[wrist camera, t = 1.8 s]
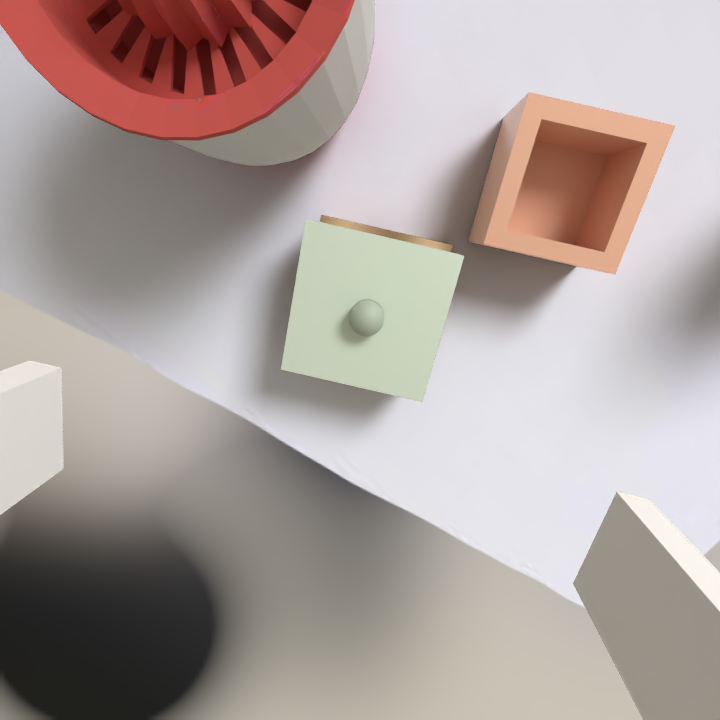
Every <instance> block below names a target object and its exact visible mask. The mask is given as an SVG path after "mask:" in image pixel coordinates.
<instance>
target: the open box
mask: <svg viewBox="0 0 720 720" xmlns="http://www.w3.org/2000/svg"><path fill="white" fill-rule="evenodd" d="M674 128H675V126H674V125H670V124H665V123H661V122H656V121H652V120H648V119H643V118H639V117H635V116H630V115H626V114H621V113H617V112H613V111H608V110H604V109H600V108H595V107H591V106H586V105H582V104H578V103H573V102H569V101H565V100H560V99H556V98H551V97H547V96H543V95H538V94H534V93H530V92H529V93H528V94H527V95H526V96H525V97H524V98H523V99H522V100H521V101H520V102H519V103H518V104H517V105H516V106H515V107H514V108H513V109H512V110H511V111H510V112H509V113H508V114H507V115H506V116H505V117H504V118H503V120H502V124H501V127H500V131H499V134H498V138H497V141H496V145H495V148H494V152H493V155H492V159H491V162H490V166H489V169H488V173H487V176H486V179H485V183H484V186H483V190H482V193H481V197H480V200H479V204H478V207H477V211H476V214H475V218H474V221H473V225H472V228H471V232H470V235H469V239H468V242H471V243H476V244H480V245H484V246H489V247H493V248H497V249H502V250H506V251H510V252H515V253H519V254H524V255H528V256H532V257H537V258H541V259H545V260H550V261H554V262H559V263H563V264H567V265H572V266H576V267H581V268H586V269H591V270H596V271H601V272H606V273H611V274H615V273H616V271H617V268H618V266H619V263H620V261H621V258H622V256H623V253H624V251H625V249H626V246H627V244H628V241H629V239H630V236H631V234H632V231H633V229H634V226H635V224H636V221H637V219H638V216H639V214H640V212H641V209H642V207H643V204H644V202H645V199H646V197H647V194H648V192H649V189H650V187H651V184H652V182H653V179H654V177H655V175H656V172H657V170H658V167H659V165H660V162H661V160H662V157H663V155H664V152H665V150H666V147H667V145H668V142H669V140H670V138H671V135H672V133H673V130H674Z"/></svg>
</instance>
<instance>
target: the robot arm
mask: <svg viewBox="0 0 720 720" xmlns="http://www.w3.org/2000/svg"><path fill="white" fill-rule="evenodd" d="M62 416H63V415H62V368H61V367H56V366H52V365H48V364H43V363H39V362H34V361H27V362H24V363H21V364H18V365H16V366H13V367H10V368H7V369H5V370H2V371H0V515H1V514H2V513H3V512H5V511H6V510H7V509H9V508H10V507H12V506H13V505H14V504H16V503H17V502H18V501H20V500H21V499H23V498H24V497H25V496H27V495H28V494H29V493H31V492H32V491H34V490H35V489H36V488H37V487H39V486H40V485H42V484H43V483H44V482H46V481H47V480H49V479H50V478H51V477H52V476H54V475H55V474H57V473H58V472H60V471H61V470H62V469H63V419H62V418H63V417H62ZM573 584H574V586H575V588H576V590H577V592H578V594H579V596H580V598H581V600H582V602H583V604H584V606H585V608H586V609H587V611H588V613H589V615H590V617H591V619H592V621H593V623H594V625H595V627H596V629H597V631H598V633H599V635H600V637H601V638H602V641H603V642H604V644H605V646H606V648H607V650H608V652H609V654H610V656H611V658H612V660H613V662H614V664H615V666H616V668H617V670H618V671H619V674H620V675H621V677H622V679H623V681H624V683H625V685H626V687H627V689H628V691H629V693H630V695H631V697H632V699H633V701H634V703H635V705H636V707H637V709H638V710H639V712H640V714H641V716H642V718H643V720H720V572H719V571H718V570H717V569H716V568H715V567H714V566H713V565H712V564H711V563H710V562H709V561H708V560H707V559H706V558H705V557H704V556H703V555H702V554H701V553H700V552H699V551H698V550H697V548H696V547H695V546H694V545H693V544H692V543H691V542H690V541H689V540H688V539H687V538H686V537H685V536H684V535H683V534H682V533H681V532H680V531H679V530H678V529H677V528H676V527H675V526H674V524H673V523H672V522H671V521H670V520H669V519H668V518H667V517H666V516H665V515H664V514H663V513H662V512H661V511H660V510H659V509H658V508H657V507H656V506H655V505H654V504H653V503H652V502H651V500H650V499H646V498H641V497H637V496H632V495H628V494H624V493H619V492H616V495H615V497H614V499H613V501H612V503H611V505H610V507H609V509H608V511H607V513H606V516H605V518H604V520H603V522H602V524H601V526H600V528H599V530H598V532H597V534H596V537H595V539H594V541H593V543H592V545H591V547H590V549H589V551H588V553H587V555H586V558H585V560H584V562H583V564H582V566H581V568H580V570H579V572H578V574H577V576H576V579H575V581H574V583H573Z"/></svg>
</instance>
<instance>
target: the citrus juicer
mask: <svg viewBox="0 0 720 720" xmlns="http://www.w3.org/2000/svg"><path fill="white" fill-rule="evenodd" d="M374 20H375V0H0V24H1V26H2V27H3V29H4V30H5V31H6V33H7V34H8V35H9V37H10V38H11V39H12V41H13V42H14V43H15V45H16V46H17V48H18V49H19V50H20V52H21V53H22V54H23V56H24V57H25V58H26V60H27V61H28V62H29V63H30V64H31V65H32V66H33V67H34V68H35V69H36V70H37V71H38V72H39V73H40V74H41V75H42V76H43V77H44V78H45V79H46V80H47V81H48V82H49V83H50V84H51V85H52V86H53V87H54V88H55V89H56V90H57V91H58V92H59V93H61V94H62V95H64V96H65V97H66V98H68V99H69V100H71V101H72V102H74V103H75V104H76V105H78V106H79V107H81V108H82V109H83V110H85V111H86V112H88V113H89V114H91V115H92V116H94V117H96V118H98V119H100V120H102V121H105V122H107V123H109V124H111V125H113V126H116V127H118V128H120V129H122V130H124V131H127V132H130V133H134V134H138V135H143V136H147V137H151V138H156V139H160V140H169V141H171V142H174V143H176V144H179V145H181V146H184V147H186V148H189V149H191V150H194V151H196V152H199V153H201V154H204V155H206V156H209V157H212V158H216V159H220V160H224V161H228V162H233V163H237V164H241V165H251V166H269V165H275V164H280V163H284V162H289V161H294V160H296V159H298V158H301V157H303V156H305V155H307V154H309V153H312V152H313V151H315V150H316V149H318V148H319V147H321V146H322V145H323V144H325V143H326V142H327V141H329V140H330V139H331V138H332V136H333V135H334V134H335V133H336V132H337V131H338V130H339V129H340V128H341V126H342V125H343V124H344V123H345V121H346V119H347V118H348V116H349V114H350V113H351V111H352V109H353V108H354V106H355V104H356V102H357V100H358V97H359V94H360V92H361V89H362V87H363V84H364V81H365V78H366V76H367V73H368V70H369V64H370V59H371V54H372V49H373V44H374Z"/></svg>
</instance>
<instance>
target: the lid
mask: <svg viewBox="0 0 720 720" xmlns="http://www.w3.org/2000/svg"><path fill="white" fill-rule="evenodd" d="M463 259H464V256H463V255H460V254H458V253H453V252H449V251H445V250H440V249H436V248H432V247H427V246H423V245H418V244H414V243H410V242H405V241H401V240H397V239H392V238H388V237H383V236H379V235H375V234H370V233H366V232H362V231H357V230H353V229H349V228H344V227H340V226H335V225H331V224H327V223H322V222H318V221H314V220H306V221H305V227H304V233H303V239H302V245H301V251H300V257H299V263H298V269H297V275H296V281H295V287H294V293H293V299H292V305H291V311H290V317H289V323H288V329H287V335H286V341H285V347H284V353H283V359H282V365H281V370H285V371H289V372H294V373H298V374H302V375H307V376H311V377H316V378H320V379H324V380H329V381H333V382H337V383H342V384H346V385H350V386H355V387H359V388H363V389H368V390H372V391H376V392H381V393H385V394H390V395H394V396H398V397H403V398H407V399H411V400H416V401H420V402H422V401H423V398H424V395H425V391H426V388H427V384H428V381H429V377H430V374H431V370H432V367H433V363H434V360H435V356H436V353H437V349H438V346H439V343H440V339H441V336H442V332H443V329H444V325H445V322H446V318H447V315H448V311H449V308H450V304H451V301H452V298H453V294H454V291H455V287H456V284H457V280H458V277H459V273H460V270H461V266H462V263H463Z"/></svg>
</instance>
